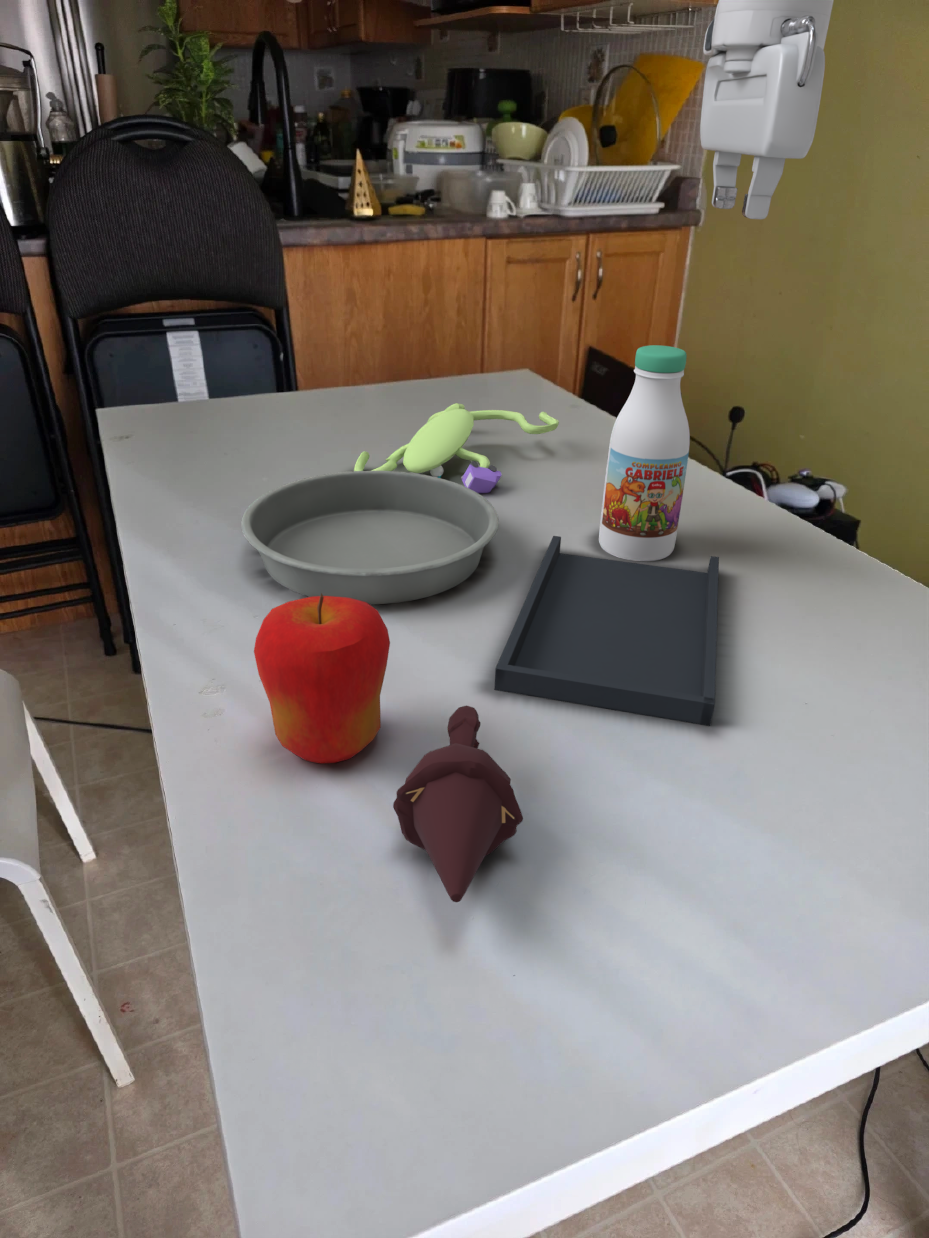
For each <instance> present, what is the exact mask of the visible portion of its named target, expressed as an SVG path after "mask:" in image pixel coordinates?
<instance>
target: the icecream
mask: <svg viewBox="0 0 929 1238" xmlns="http://www.w3.org/2000/svg"><path fill="white" fill-rule="evenodd" d="M480 727H481V721H480V719H479V713H478V711H477V710H476V708H475V707H473V706H469V705H463V706H460V707H458V708H457V709H456V710H455V711H454V712H453V713H452V714H451V716H449V718H448V723H447V734H448V738H449V745H446V746H443V747H439V748H435V749H433V750H430V751H428V752H427V753H426V754H424V755H423V756H422V757H421V759H420V760H419V762H418V763H416V765H415V766H414V768H413V769H412V771H410V773H409V774H408V776H407V777H406V779H405V782H404V783H403V785H401V786H400V787H399V788H397V790H396V798H395V799H394V801H393V804H392V808H393V811H394V812H395V814H396V816H397V819H398V823H399V826H400V830H401V834H402V836H403V837H404V839H405V840H406V841H407V842H408V843H411V844H412V845H414V846H416V847H418V848H420V849H422V850H424V851H426V853H427V855H428V856H429V858H430V861H431V862H432V864H433V867H434V869H435V870H436V872H437V875H438V876H439V879H440V881H441V883H442V885H443V887H444V890H445V892H446V893H447V895H448V897H449V899H450V900H451V901H452V902H453V903H454V902H455V903H459V902H461V901H462V900H463V898H464V896H465V894H466V893H467V891H468V889H469V887H470V886H471V883H472V881H473V879H474V878H475V876H476V873H477V872H478V870H479V868H480V866H481V864H482V863H483V861H484V859H485V857H486V856H488V855H490V854H492V853H493V852H494V851H495V850H496V849H497V848H498V847H500V845H502V844H503V843H504V842H505V841H507V840H509V839H511V838H512V837H514V836H515V835H516V833H517V828H518V826H519V825H520V824H521V823H523V821H524V816H523V812H522V810H521V807H520V806H519V802H518V801H517V798H516V796H515V791H514V789H513V787H512V785H511V780H512V779H511V778H510V776H509V775H508V774H507V773H506V771H505V770H503V769H502V767H501V766H500V765H499V764H498V763H497V761H495V760H494V758H493V757H492V756H491V755H490V754H489V753H488V752H487V751H485V750H484V749H482V748H479V746H480V742H479V740H478V739H477V734H478V732H479V730H480Z"/></svg>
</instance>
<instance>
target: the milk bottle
mask: <svg viewBox="0 0 929 1238" xmlns="http://www.w3.org/2000/svg"><path fill="white" fill-rule="evenodd" d="M636 349H637V350H636V352H635V357H634V369H633V372H634V374H635V378H634V379H635V380H634V384H633V386H632V389H631V391H630V393H629V396H628V398H627V400H626V401H625V403H624V405H623V406H622V408H621V410H620V412H619V413H618V415H617V417H616V420H615V421H614V424H613V427H612V429H611V430H612V431H611V434H610V439H609V446H608V451H607V452H608V453H607V461H606V469H605V477H604V485H603V495H602V503H601V510H600V511H601V513H600V523H599V531H598V532H599V533H598V543H599V546H600V547H601V549H602V550H603V551H604V552H606V553H607V554H609V555H611V556H613V557H617V558H619V559H623V560H627V561H633V562H654V561H659V560H662V559H665V558H666V559H667V558H668V557H669V556H670V555H671V554H672V553H673V551H674V549H675V544H676V540H677V534H678V528H679V521H680V515H681V508H682V502H683V496H684V489H685V483H686V476H687V469H688V462H689V453H690V442H691V437H690V436H691V435H690V427H689V426H690V425H689V421H688V417H687V414H686V410H685V406H684V403H683V399H682V392H681V381H682V378H683V377H684V376H685V369H686V365H687V359H688V358H687V357H688V355H687V352H686V351H685V350H684V349H681V348H679V347H674V346H669V345H660V344H659V345H658V344H657V345H656V344H655V345H653V344H652V345H643V346H640V347H638V348H636Z"/></svg>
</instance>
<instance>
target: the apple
mask: <svg viewBox="0 0 929 1238" xmlns="http://www.w3.org/2000/svg"><path fill="white" fill-rule="evenodd" d="M388 629H389V628H388V627H387V625H386V624H385V621H384V620H383V618H382V616H381V614H380V612H379V610H378V609H376V608H375V607H373V606H372V604H368V603H366V602H363V601H360V600H356V599H352V598H347V597H334V596H323V595H322V593H321V596H314V597H309V596H306V597H302V598H299V599H295V600H290V601H286V602H285V603H282V604H280V605H278V606H275V607H273V608H271V610H270V611H269V612H268V613H267V615H266V616H265V617H264V619H263V620H262V622H261V625H260V628H259V629H258V632H257V635H256V637H255V642H254V648H253V654H254V659H255V665H256V668H257V674H258V676H259V679H260V681H261V684H262V686H263V689H264V692H265V695H266V697H267V699H268V703H269V706H270V707H269V708H270V712H271V719H272V723H273V728H274V734H275V737H277V740H278V741H279V743H280V744H281V746H282V747H283V748H285V749H286V750H288V751H289V752H290V753H292V754H294V755H296V756H297V757H299V758H301V759H303V760H304V761H306V762H311V763H315V764H322V765H323V764H337V763H340V762H344V761H347V760H350V759H352V758H353V757H354V756H357V755H358V754H359V753H360V752H362V751H363V750H364V749H365V748H366V747H368V745H369V744H370V743H371V742H373V741H374V739H375V738H376V736H377V735H378V732H379V731H380V729H381V727H382V726H381V725H382V724H381V722H382V721H381V693H382V690H383V689H382V688H383V684H384V680H385V675H386V672H387V671H386V670H387V667H388V659H389V652H390V647H391V641H390V635H389V630H388Z"/></svg>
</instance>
